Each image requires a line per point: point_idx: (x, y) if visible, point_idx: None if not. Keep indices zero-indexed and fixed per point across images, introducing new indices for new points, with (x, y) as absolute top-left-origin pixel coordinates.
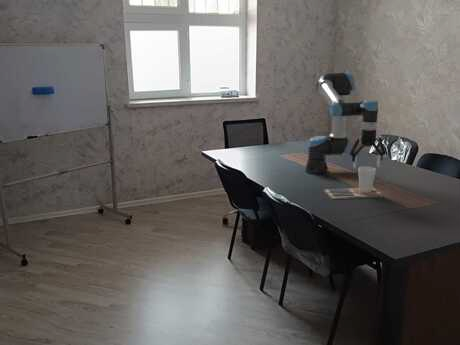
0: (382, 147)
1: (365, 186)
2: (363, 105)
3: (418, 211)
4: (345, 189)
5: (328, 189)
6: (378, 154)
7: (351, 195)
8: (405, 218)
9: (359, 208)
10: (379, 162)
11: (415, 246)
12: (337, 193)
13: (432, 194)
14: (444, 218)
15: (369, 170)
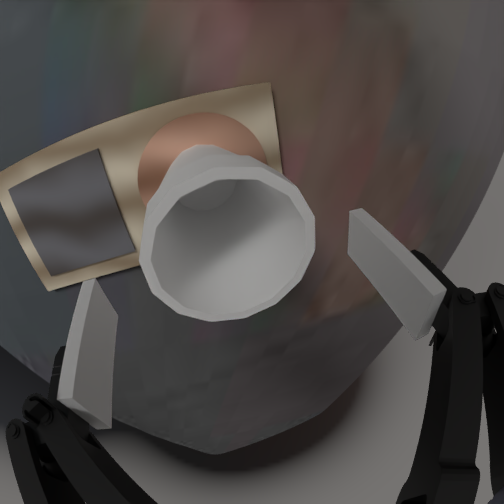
0: (492, 403)
1: (200, 230)
2: None
3: (339, 332)
4: (87, 166)
5: (7, 175)
6: (437, 298)
7: (123, 252)
8: (283, 376)
9: (163, 350)
10: (374, 281)
11: (253, 437)
12: (56, 245)
13: (455, 179)
14: (368, 351)
15: (240, 313)
